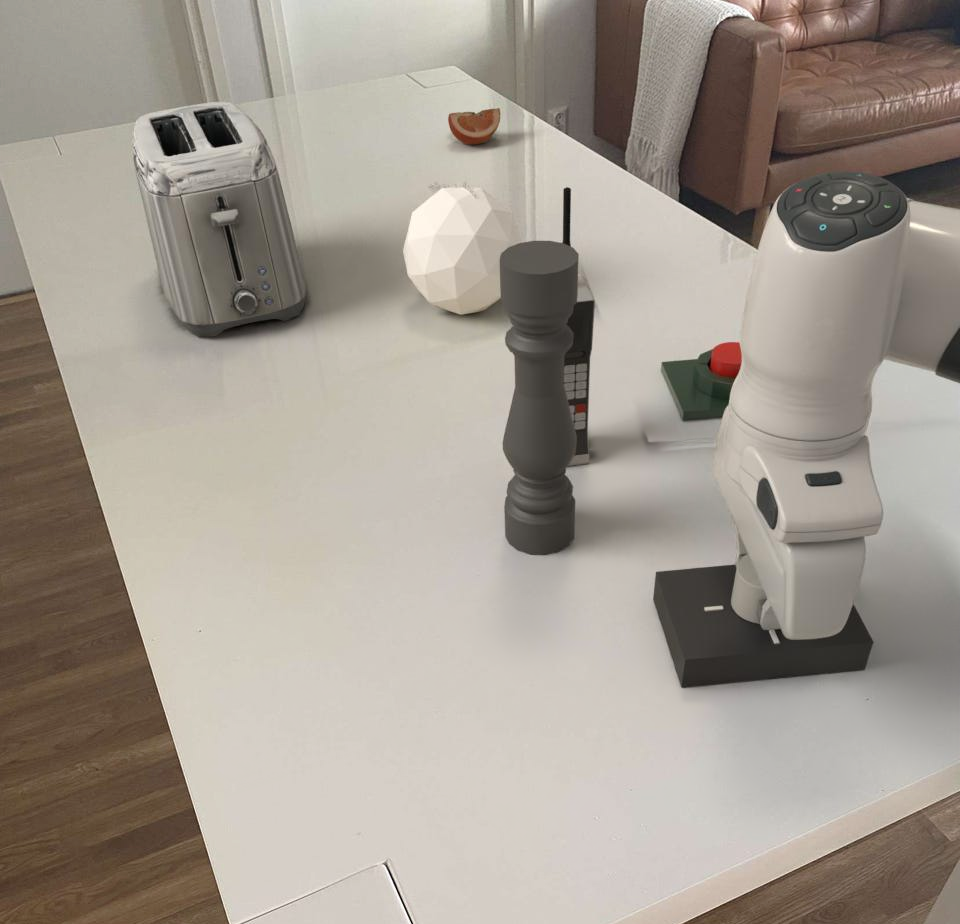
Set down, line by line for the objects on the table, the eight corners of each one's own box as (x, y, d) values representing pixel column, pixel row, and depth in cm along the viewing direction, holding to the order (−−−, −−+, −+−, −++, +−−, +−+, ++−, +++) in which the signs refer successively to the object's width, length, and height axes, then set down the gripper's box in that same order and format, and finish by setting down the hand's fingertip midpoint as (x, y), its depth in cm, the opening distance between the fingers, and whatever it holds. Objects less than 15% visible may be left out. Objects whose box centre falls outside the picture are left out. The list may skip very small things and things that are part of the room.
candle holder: (579, 551, 87) (588, 272, 70) (508, 558, 87) (499, 279, 70) (569, 508, 92) (575, 236, 74) (501, 514, 91) (492, 242, 74)
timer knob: (723, 589, 78) (729, 551, 76) (777, 582, 79) (785, 544, 76) (741, 627, 75) (749, 589, 73) (798, 620, 76) (807, 581, 73)
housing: (770, 370, 107) (776, 336, 105) (800, 421, 100) (807, 385, 98) (659, 380, 107) (662, 345, 104) (681, 431, 100) (685, 395, 97)
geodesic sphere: (353, 258, 118) (400, 171, 106) (430, 217, 126) (481, 131, 114) (438, 356, 119) (493, 281, 107) (508, 308, 127) (567, 233, 115)
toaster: (179, 354, 116) (132, 183, 103) (154, 255, 136) (112, 101, 123) (322, 326, 119) (294, 157, 106) (276, 233, 140) (248, 82, 126)
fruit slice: (496, 134, 165) (494, 101, 161) (506, 147, 160) (505, 113, 157) (446, 140, 164) (444, 107, 160) (455, 154, 159) (453, 120, 155)
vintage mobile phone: (551, 470, 96) (552, 203, 79) (540, 441, 100) (539, 181, 82) (589, 465, 96) (599, 198, 79) (577, 437, 100) (584, 176, 83)
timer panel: (820, 583, 83) (828, 553, 81) (864, 670, 76) (874, 640, 74) (652, 599, 82) (655, 569, 80) (681, 688, 75) (685, 658, 73)
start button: (747, 355, 103) (750, 340, 102) (760, 377, 100) (762, 361, 98) (705, 359, 103) (707, 343, 101) (716, 381, 100) (718, 365, 98)
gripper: (705, 367, 74) (685, 517, 84) (791, 540, 59) (755, 698, 69) (789, 360, 74) (760, 511, 84) (896, 531, 60) (845, 690, 69)
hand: (758, 597), depth 76 cm, fingers closed on timer knob, 4 cm apart
